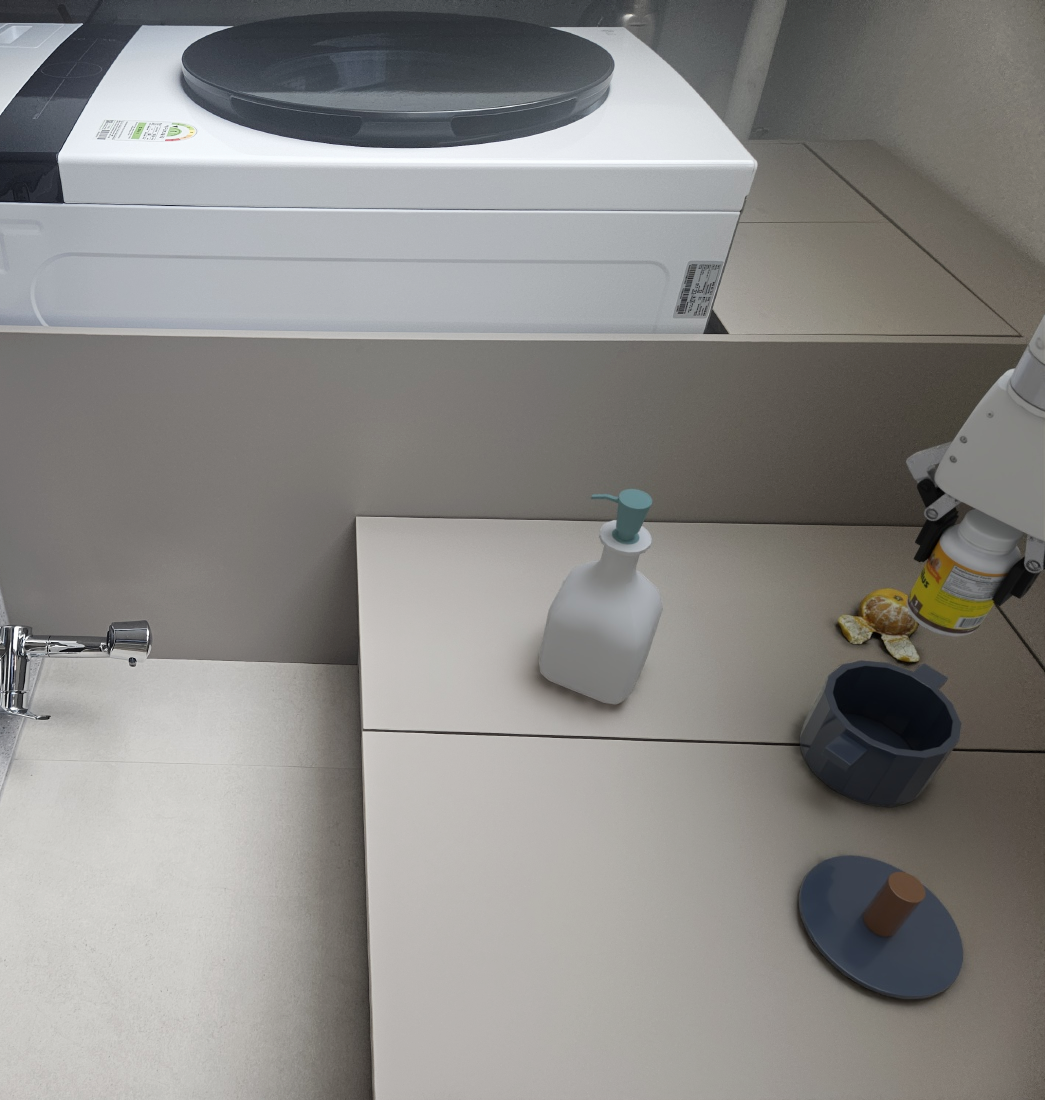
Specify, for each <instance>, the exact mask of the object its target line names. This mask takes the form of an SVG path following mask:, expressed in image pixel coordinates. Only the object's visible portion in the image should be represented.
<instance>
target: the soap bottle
mask: <svg viewBox="0 0 1045 1100" xmlns="http://www.w3.org/2000/svg"><path fill="white" fill-rule="evenodd" d="M590 500H608V501H610V502H613V503H617V512H616V519H612V520H610V521H607V522H605V523H604V524H602V526H601V527H600V530H599V534H598V539H599V541H600V543H601V544H602V546H603V548H602V552H601V556H600V559H596V560H591V561H587V562H586V561H585V562H583V563H581V564H579V565H577V566H574V567H573V568H572V569H571V570H570V572H569V573H568V574H567V576H565V578H564V580H563V581H562V583H561V586H560V588H559V589H558V592H557V593H556V595H555V597H554V599H553V600H552V602H551V604H550V607H549V608H548V611H547V616H546V622H545V626H544V630H543V635H542V641H541V644H540V649H539V653H538V663H539V672H540V674H541V675H542V676H543V677H544V678H545V679H547V680H548V681H549V682H551V683H554V684H556V685H558V686H561V687H563V688H565V689H569V690H571V691H573V692H576V693H578V694H580V695H584V696H586V697H588V698H590V699H594V700H596V701H598V702H600V703H603V704H609V705H618V704H621V703H622V702H623V701H625V700H627V699H628V697H629V696H630V695H631V694H632V693H633V690H634V688H635V686H636V683H637V681H638V679H639V677H640V675H641V672H642V670H643V668H644V666H645V663H646V661H647V660H648V656H649V653H650V651H651V647H652V645H653V641H654V637H655V636H656V635H655V634H656V632H657V628H658V626H659V623H660V620H661V617H662V614H663V610H664V604H663V601H662V595H661V593H660V590H659V588H658V587H657V586H656V585H655V584H654V583H653V582H652V581H651V580H649V579H648V578H647V577H646V576H645V575H644V574H643V573H642V572H641V571H640V570H638V569H637V566H638V563H639V559H640V556H641V555H642V554H645V553H646V552H648V550H649V549H650V548H651V545H652V538H653V537H652V536H651V535H652V534H651V533H650V531H649V530H648V529H646V527H644V526H643V525H644V523H645V519H646V518H647V516H648V513H649V511H650V509H651V506H652V504H653V498H652V497H651V495H650V494H648V493H647V492H646V491H643V490H641V489H637V488H626V489H624V490H622V491H621V492H619V494H618V496H615V495H611V494H609V493H600V494H599V493H597V494H596V493H595V494H591V496H590Z"/></svg>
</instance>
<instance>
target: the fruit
mask: <svg viewBox="0 0 1045 1100" xmlns="http://www.w3.org/2000/svg"><path fill="white" fill-rule="evenodd" d="M908 596H909V594H906V593H905V592H903V591H900V590H897V589H895V588H888V587H886V588H880V589H875V590H873V591H872V592H871V593H868V594H867V595H866V596H865V597H864V598H863V599H862V600H861V601H860V605H859V608H858V613H857V616H854V615H849V614H842V615H840V616H839V617H838V618H837V624H838V626H840V629H841V632H842V635H843V637H845V638H846V639H847V641H848V642H849V643H850V644H853V645H862V644H863V643H864V642H866V641H869V639H871V636H872V634H873V633H874V632H875V633H878V634H880V635H881V637H880V638H881V640H883V644H884V646H885V647H886V651H888V653H889V654H890V655H891V656H892V657H893V658H895V659H896V660H899V661H902V662H910V663H912V662H915V663H916V662H919V661H920V655H919V654H918V651H917V649H916V646H915V644H913V642H911V640H910V635H912V634H914V633H915V632H916V631H917V629H918V627H919V626H920V624H919V623H918V622H917V621H916V620H914V618H913V617H912V616H911V614H910V613H909V611H908V608H907V599H908Z"/></svg>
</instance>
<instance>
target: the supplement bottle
mask: <svg viewBox="0 0 1045 1100" xmlns="http://www.w3.org/2000/svg"><path fill="white" fill-rule="evenodd" d="M1023 535H1024V532H1022V531H1020V530H1018V529H1016V528H1014V527H1012V526H1010V525H1008V524H1006V523H1003V522H1001V521H999V520H997V519H995V518H993V517H991V516H989V515H987V514H985V513H983V512H981V511H979V510H977V509H975V508H973V509H971V510H969V511H967V513H966V514H965V515H964V517H963V519H962V520H961V521H960V522H959V523H955V525H953V526H951V527H949V528H947V529H946V530H945V531H944V532H943V534H942V535H941V537H940V538H939V540H938V542H937V544H936V546H935V548H934V549H933V551H932V553H931V555H930V557H929V558H928V559H927V560H926V563H925V564H924V566H923V568H922V569H921V571H920V573H919V575H918V577H917V579H916V581H915V583H914V584H913V586H912V589H911V590H910V592H909V594H908V599H907V608H908V611H909V613H910V614H911V616H912V617H913V618H914V620H916V621H917V622H918V623H919V626H921V627H923V628H925V629H926V630H929V631H931V632H933V633H935V634H937V635H942V636H946V637H965V636H968V635H971V634H972V633H974V632H976V631H977V630H978V629H979V628H980V626H981V625H982V623H983V622H984V620H985V619H986V617H987V615H988V614H989V613H990V611H991V609H992V608H993V606H994V605H995V603H993V600H992V598H993V596H994V595H995V593H996V592H997V590H998V589H999V587H1000V585H1001V584H1002V582H1003V581H1004V579H1005V577H1006V576H1007V574H1008V573H1009V571H1010V569H1011V568H1012V567H1013V565H1014V564H1016V563H1017V562H1018V561H1019V560H1021V559H1022V555H1021V551H1020V549H1019V547H1018V544H1019V541H1020V539H1022V537H1023Z"/></svg>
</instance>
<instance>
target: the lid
mask: <svg viewBox="0 0 1045 1100" xmlns="http://www.w3.org/2000/svg"><path fill="white" fill-rule="evenodd" d="M798 907H799V908H798V909H799V914H800V918H801V921H802V924H803V926H804V929H805V931H806V933H807V935H808V936H809V938H810V940H811V941H812V943H813V944H814V945H815V947H816V949H817V950H818V951H819V953H820V954H821V955H822V956H823V957H824V958H825V959H826V961H828V963H830V964H831V965H832V966H833V967H834V968H835V969H837V970H838V971H839V972H840V973H841V974H843V975H844V976H846V977H847V978H849V979H850V980H852V981H853V982H855V983H857V984H858V985H860V986H862V987H864V988H866V989H867V990H871V991H872V992H876V993H877V994H881V995H883V996H887V997H891V998H896V999H903V1000H922V999H927V998H932V997H934V996H936V995H939V994H941V993H942V992H944V991H945V990H947V989H948V988H949V987H951V985H952V984H953V983H954V982H955V981H956V979H957V978H958V976H959V975H960V972H961V970H962V967H963V962H964V946H963V941H962V938H961V937H962V936H961V934H960V931H959V929H958V927H957V924H956V922H955V920H954V918H953V917H952V915H951V914H950V912H949V910H948V909H947V908H946V906H945V905H944V904H943V903H942V902H941V900H940V899H939V898H938V897H937V896H936V894H934V893H933V892H932V891H931V890H930V889H929V888H928V887H927V886H925V885H924V884H923V883H922V882H921V881H920V880H919V879H918V878H917V877H915V876H914V875H913V874H911V873H908V872H905V871H904V870H902V869H900V868H899V867H896V866H895V865H892V864H890V863H887V862H884V861H881V860H879V859H876V858H873V857H872V858H871V857H867V856H861V855H850V854H849V855H839V856H833V857H830V858H827V859H824V860H822V861H820V862H819V863H817V864H816V865H814V866H813V867H812V868H811V869H810V870H809V871H808V872H807V874H806V875H805V877H804V879H803V880H802V882H801V884H800V888H799V893H798Z"/></svg>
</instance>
